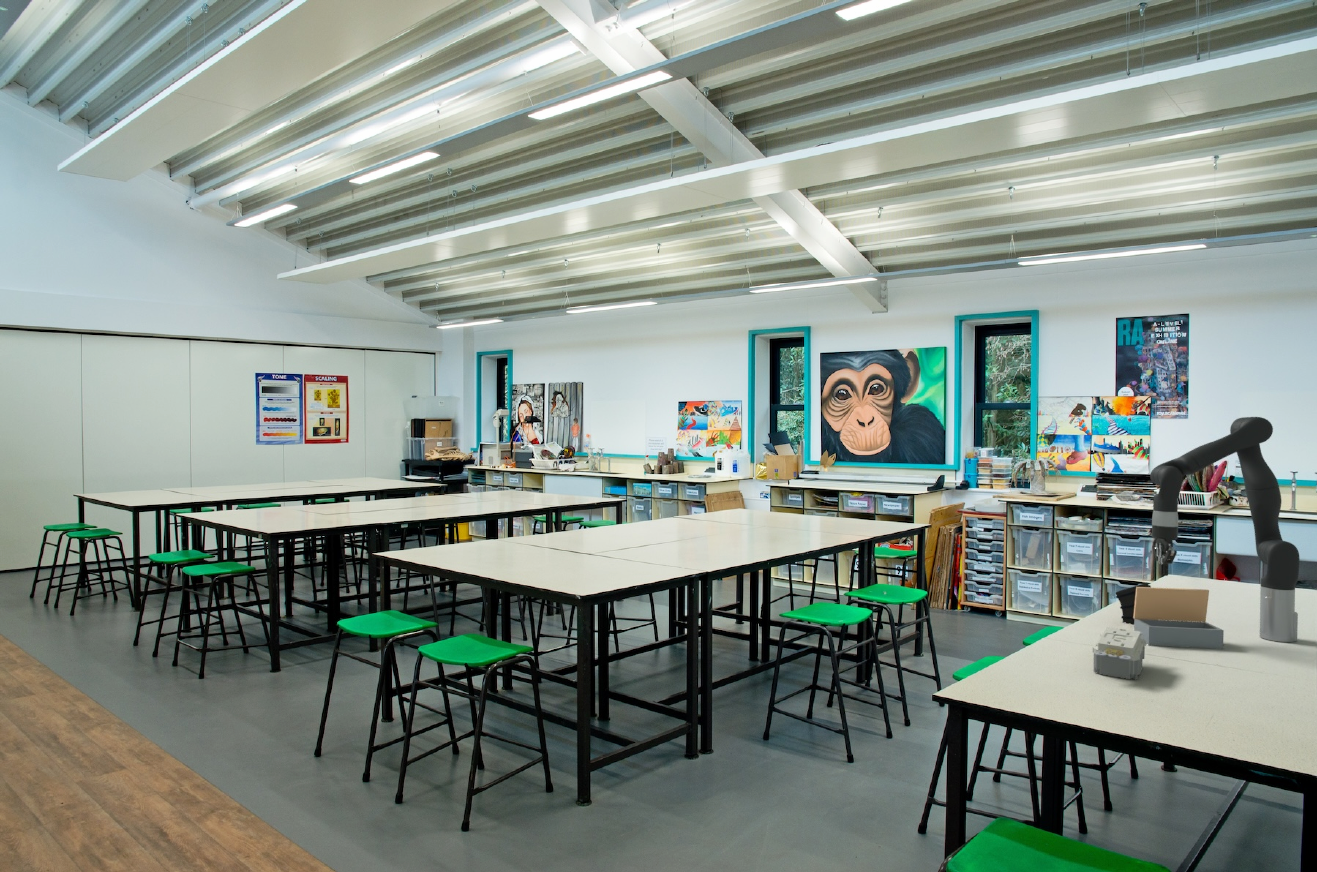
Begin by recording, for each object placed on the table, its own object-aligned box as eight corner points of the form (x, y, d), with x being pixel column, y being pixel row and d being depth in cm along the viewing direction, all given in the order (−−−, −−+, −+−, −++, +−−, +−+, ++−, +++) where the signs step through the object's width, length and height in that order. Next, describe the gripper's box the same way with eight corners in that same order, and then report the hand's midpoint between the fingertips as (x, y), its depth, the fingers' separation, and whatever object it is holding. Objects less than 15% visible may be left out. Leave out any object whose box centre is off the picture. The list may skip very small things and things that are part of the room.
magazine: (1167, 624, 284) (1147, 583, 288) (1128, 634, 291) (1109, 594, 295) (1169, 622, 287) (1148, 581, 291) (1130, 632, 294) (1110, 593, 298)
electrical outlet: (1148, 660, 242) (1148, 627, 241) (1136, 690, 219) (1136, 654, 218) (1104, 653, 249) (1104, 621, 248) (1088, 682, 226) (1088, 647, 225)
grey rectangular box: (1205, 640, 269) (1205, 622, 269) (1223, 648, 258) (1223, 630, 258) (1134, 636, 272) (1134, 618, 272) (1148, 645, 261) (1149, 626, 261)
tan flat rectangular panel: (1205, 621, 269) (1204, 620, 270) (1209, 590, 267) (1207, 589, 268) (1134, 618, 272) (1133, 617, 273) (1137, 587, 270) (1136, 586, 271)
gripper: (1186, 527, 268) (1185, 579, 268) (1167, 522, 281) (1166, 572, 281) (1162, 526, 269) (1160, 578, 269) (1144, 521, 282) (1143, 571, 283)
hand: (1163, 575), depth 275 cm, fingers closed
